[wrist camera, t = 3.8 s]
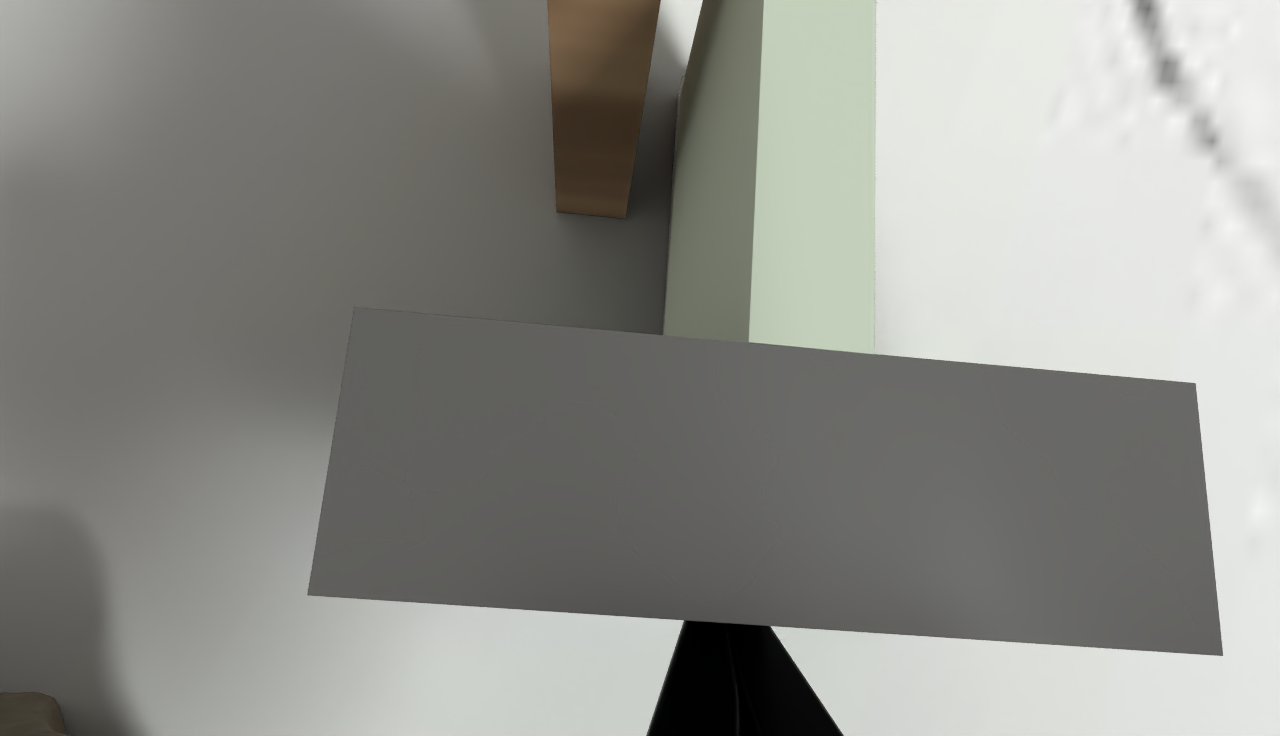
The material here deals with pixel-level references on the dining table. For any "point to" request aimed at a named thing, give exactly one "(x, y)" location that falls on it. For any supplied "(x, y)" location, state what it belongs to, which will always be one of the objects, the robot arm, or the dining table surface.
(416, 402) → the gray bookend
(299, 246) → the dining table surface
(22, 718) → the marble piece
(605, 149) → the post
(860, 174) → the pale green slab
